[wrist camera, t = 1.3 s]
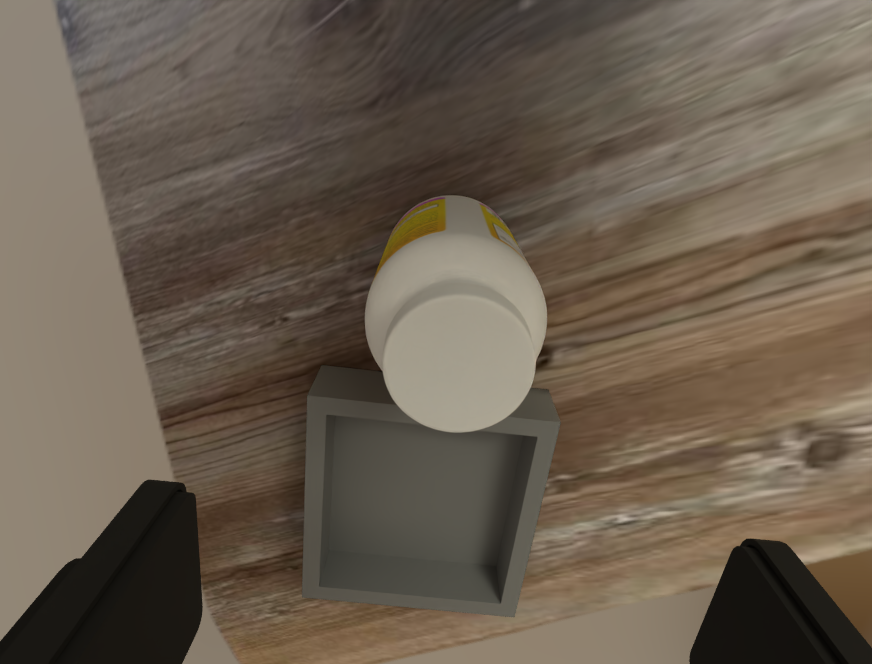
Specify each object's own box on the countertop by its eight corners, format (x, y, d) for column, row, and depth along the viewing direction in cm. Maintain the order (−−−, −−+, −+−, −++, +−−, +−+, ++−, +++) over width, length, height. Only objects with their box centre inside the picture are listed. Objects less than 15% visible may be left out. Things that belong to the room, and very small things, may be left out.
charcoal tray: (321, 365, 30) (307, 395, 27) (548, 389, 31) (560, 422, 28) (314, 553, 36) (301, 597, 33) (508, 571, 36) (514, 617, 33)
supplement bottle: (376, 303, 29) (330, 438, 17) (400, 179, 27) (365, 236, 15) (496, 328, 30) (532, 476, 18) (531, 209, 27) (599, 288, 15)
